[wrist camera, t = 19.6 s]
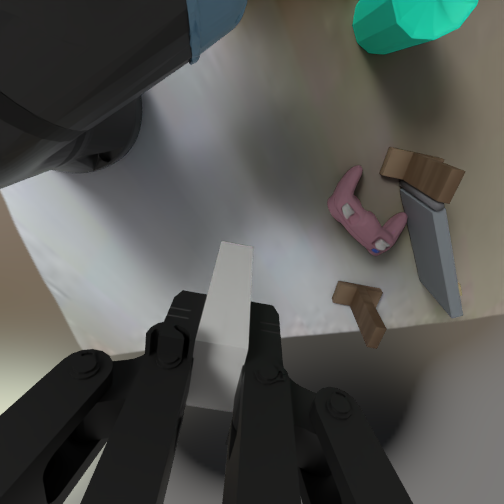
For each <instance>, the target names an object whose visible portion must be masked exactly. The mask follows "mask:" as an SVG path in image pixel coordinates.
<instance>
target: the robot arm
mask: <svg viewBox="0 0 504 504" xmlns="http://www.w3.org/2000/svg"><path fill="white" fill-rule="evenodd" d="M246 4H247V0H0V189H1V188H4V187H7V186H9V185H12V184H14V183H17V182H20V181H22V180H25V179H28V178H30V177H33V176H35V175H38V174H41V173H43V172H46V171H49V170H55V171H62V172H68V173H88V172H93V171H97V170H100V169H103V168H105V167H107V166H109V165H111V164H113V163H115V162H117V161H118V160H120V159H121V158H122V157H123V156H124V155H126V153H127V152H128V151H129V150H130V149H131V147H132V146H133V144H134V142H135V140H136V138H137V136H138V133H139V130H140V126H141V120H142V100H141V94H143V93H144V92H146V91H147V90H149V89H150V88H152V87H153V86H154V85H156V84H157V83H159V82H160V81H162V80H163V79H165V78H166V77H168V76H169V75H171V74H172V73H173V72H175V71H176V70H178V69H179V68H181V67H182V66H184V65H185V64H187V63H188V62H189V63H190V65H192V64H194V63H196V62H197V61H198V59H199V57H200V54H201V53H203V52H204V51H205V50H206V49H208V48H209V47H210V46H212V45H213V44H214V43H216V42H217V41H218V40H220V39H221V38H222V37H224V36H225V35H226V34H228V33H229V32H230V31H231V30H233V29H234V28H235V27H236V26H237V24H238V23H239V22H240V20H241V18H242V16H243V13H244V10H245V7H246ZM252 264H253V247H251V246H246V245H241V244H236V243H230V242H225V241H221V245H220V248H219V252H218V256H217V260H216V264H215V267H214V271H213V275H212V279H211V283H210V286H209V290H208V294H207V295H206V294H200V293H195V292H189V291H184V290H183V291H182V292H180V293H179V294H178V295H177V296H175V297H174V299H173V302H172V304H171V307H170V309H169V311H168V314H167V316H166V318H165V321H164V322H161V323H158V324H156V325H154V326H152V327H151V328H150V329H149V330H148V332H147V333H146V345H145V354H144V355H142V356H140V357H137V358H135V359H129V360H121V361H112V360H111V358H110V356H109V355H108V354H106V353H105V352H103V351H99V350H94V349H90V350H81V351H78V352H76V353H73V354H71V355H69V356H68V357H66V358H65V359H63V360H62V361H61V362H60V363H59V364H58V365H56V366H55V367H54V368H53V369H52V370H51V371H50V372H49V373H48V374H46V375H45V376H44V377H43V378H42V379H41V380H40V381H38V382H37V383H36V384H35V385H34V386H33V387H32V388H31V389H29V390H28V391H27V392H26V393H25V394H24V395H23V396H22V397H21V398H20V399H18V400H17V401H16V402H15V403H14V404H13V405H12V406H10V407H9V408H8V409H7V410H6V411H5V412H4V413H3V414H1V415H0V504H63V502H64V501H65V499H66V498H67V497H68V495H69V494H70V493H71V491H72V489H73V488H74V487H75V486H76V484H77V483H78V481H79V480H80V479H81V477H82V476H83V474H84V473H85V472H86V470H87V469H88V467H89V466H90V465H91V463H92V462H93V460H94V459H95V457H96V456H97V455H98V453H99V452H100V451H101V449H102V448H103V446H104V445H105V443H106V442H107V444H106V446H105V448H104V451H103V453H102V455H101V457H100V460H99V462H98V464H97V467H96V469H95V471H94V474H93V476H92V478H91V480H90V483H89V485H88V487H87V490H86V492H85V494H84V496H83V499H82V501H81V503H80V504H163V502H164V498H165V494H166V490H167V485H168V481H169V477H170V473H171V468H172V464H173V460H174V455H175V451H176V447H177V443H178V438H179V434H180V430H181V425H182V421H183V415H184V409H185V405H189V406H196V407H203V408H209V409H215V410H222V411H229V412H232V410H233V417H232V422H231V425H230V429H229V433H228V437H227V441H226V445H228V450H227V461H226V471H225V481H224V482H225V483H224V492H223V502H222V504H301V499H302V503H303V504H413V502H412V501H411V499H410V497H409V495H408V493H407V492H406V490H405V488H404V486H403V484H402V483H401V481H400V479H399V477H398V475H397V473H396V472H395V470H394V468H393V466H392V464H391V463H390V461H389V459H388V457H387V455H386V454H385V452H384V450H383V448H382V446H381V445H380V443H379V441H378V439H377V437H376V435H375V434H374V432H373V430H372V428H371V426H370V425H369V423H368V421H367V419H366V418H365V415H364V414H363V412H362V410H361V408H360V406H359V405H358V404H357V402H356V401H355V400H354V398H353V397H351V396H350V395H349V394H348V393H346V392H345V391H342V390H340V389H338V388H332V387H327V388H322V389H321V390H319V391H318V392H317V393H314V392H312V391H310V390H307V389H305V388H303V387H301V386H299V385H298V384H296V383H295V382H293V381H292V380H291V379H290V378H289V376H288V373H287V371H286V370H285V369H284V367H283V361H282V348H281V335H280V326H279V325H280V323H279V314H278V313H277V311H276V310H275V308H274V306H272V305H267V304H261V303H256V302H251V284H252ZM300 496H301V497H300Z"/></svg>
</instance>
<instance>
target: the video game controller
mask: <svg viewBox="0 0 504 504" xmlns="http://www.w3.org/2000/svg"><path fill="white" fill-rule="evenodd" d="M362 171H363V169H362V167H361V166H359V165H357V166H354V167H352V168H351V169H350V170H348V171H347V172H346V173H345V175H344V176H343V177H342V178H341V180H340V181H339V183H338V184H337V187H336V189H335V191H334V193H333V195H332V196H331V197H330V198H329V199H328V202H327V204H328V208H329V211H330V213H331V215H332V216H333V217H334V218H335V219H336V220H337V221H338V222H340V223H342V225H343V226H344V227H345V228H346V230H347V231H348V232H349V233H350V234H351V235H352V236H353V237H354V238H355V239H356V240H357V241H358V242H359V243H361V244H362V245H363V246H364V247H366V249H367V250H368V251H369V252H370V253H371V254H372V255H374V256H377V255H380V254H382V253H384V252H386V251H387V250H389V249H390V248H391V247H392V246H393V245H394V244H395V242H396V241H397V239H398V237H399V235H400V234H401V232H402V230H403V229H404V227H405V225H406V223H407V219H408V217H407V214H406V213H404V212H401V213H398V214H396V215H394V216H393V217H391V218H390V219H389V220H388V221H387V222H386V223H385V224H384V225H383V227H382V226H381V225H380V223H379V221H378V220H377V218H376V216H375V215H374V214H373V213H372V212H370V211H366V210H365V209H364V208H363V207H362V205H361V202H360V201H359V199H358V198H357V197H356V196H355V195H354V191H355V188H356V186H357V184H358V182H359V180H360V178H361V176H362Z"/></svg>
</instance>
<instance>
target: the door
mask: <svg viewBox="0 0 504 504" xmlns="http://www.w3.org/2000/svg"><path fill="white" fill-rule="evenodd" d="M399 185H400V186H401V187H402V189H400V193H401V198H402V202H403V207H404V211H405V213H406V214H407V217H408V219H407V225H408V229H409V233H410V238H411V242H412V247H413V251H414V256H415V260H416V265H417V269H418V274H419V278H420V281H421V282H422V283H423V285H424V286H425V287H426V288H427V289H428V291H429V292H430V293H431V294H432V295H433V297H434V298H435V299H436V300H437V301H438V303H439V304H440V305H441V306H442V307H443V309H444V310H445V311H446V312H447V313H448V315H449V316H450V317H451V318H456V317H459V316H463V312H462V306H461V300H460V296H461V295H462V292H461V286H460V284H459V283H458V281H457V275H456V269H455V263H454V257H453V251H452V245H451V239H450V233H449V227H448V221H447V215H446V208H444V203H443V202H438V201H436V200H434V199H433V198H431V197H430V196H428V195H426V194H425V193H423V192H422V191H420V190H418V189H417V188H415V187H414V186H412V185H410V184H409V183H407V182H406V181H404V180H403V179H402V180H401V181H400V182H399Z"/></svg>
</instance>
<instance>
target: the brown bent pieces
mask: <svg viewBox="0 0 504 504" xmlns="http://www.w3.org/2000/svg"><path fill="white" fill-rule="evenodd" d="M443 162H444V159H442V158H439V157H434V156H429V155H425V154H420V153H416V152H411V151H406V150H402V149H397V148H393V147H389V149H388V152H387V155H386V157H385V160H384V163H383V165H382V168H381V170H380V174H381V175H384V176H388V177H393V178H398V179H403V180H404V181H406V182H407V183H409V184H410V185H412V186H414V187H415V188H417V189H418V190H420V191H422V192H423V193H425V194H426V195H428V196H430V197H431V198H433V199H434V200H436V201H438V202H443V203H448V204H450V202H451V200H452V198H453V196H454V194H455V192H456V190H457V188H458V186H459V184H460V182H461V180H462V178H463V176H464V174H465V171H463V170H460V169H458V168H455V167H453V166H450V165H448V164H445V163H443ZM382 293H383V292H382V291H381V289H380V288H374V287H369V286H364V285H358V284H353V283H348V282H342V281H338V284H337V286H336V289H335V291H334V294H333V297H332V300H333V303H338V304H343V305H349V306H350V307H351V310H352V312H353V314H354V317H355V319H356V322H357V324H358V327H359V329H360V331H361V334H362V336H363V339H364V341H365V343H366V346H367V347H370V348H376V349H377V347H378V345H379V343H380V341H381V339H382V337H383V335H384V333H385V331H386V327H385V325H384V323H383V321H382V319H381V317H380V316H379V314H378V312H377V310H376V306H377V304H378V302H379V300H380V298H381V295H382Z"/></svg>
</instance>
